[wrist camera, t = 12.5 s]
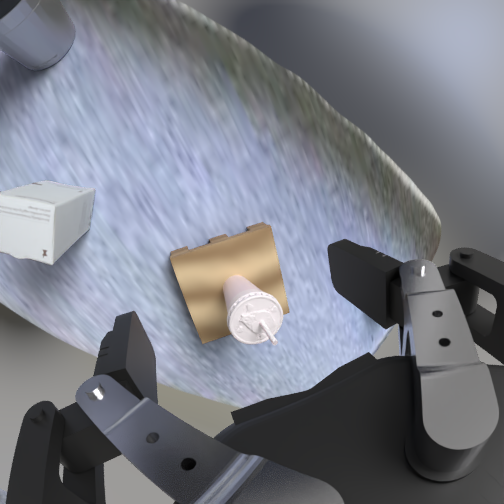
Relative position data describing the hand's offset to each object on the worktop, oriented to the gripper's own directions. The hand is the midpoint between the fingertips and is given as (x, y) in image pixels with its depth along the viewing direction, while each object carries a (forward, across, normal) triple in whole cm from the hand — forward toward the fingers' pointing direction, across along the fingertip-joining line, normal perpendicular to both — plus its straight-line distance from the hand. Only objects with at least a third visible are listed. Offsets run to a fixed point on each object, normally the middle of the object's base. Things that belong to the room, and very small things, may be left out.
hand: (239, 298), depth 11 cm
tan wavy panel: (+30, -3, +13) cm, 33 cm away
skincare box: (+30, +16, -5) cm, 35 cm away
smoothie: (+27, -3, +13) cm, 30 cm away
